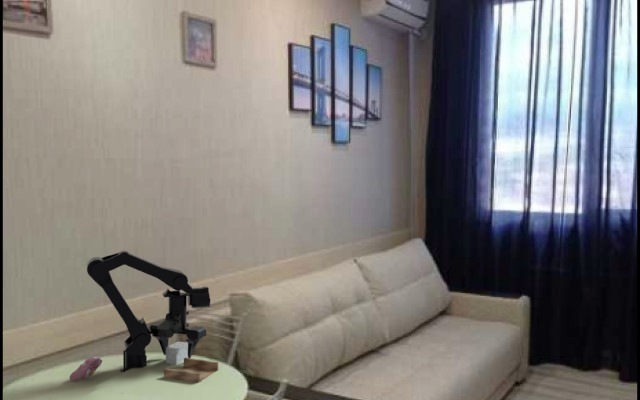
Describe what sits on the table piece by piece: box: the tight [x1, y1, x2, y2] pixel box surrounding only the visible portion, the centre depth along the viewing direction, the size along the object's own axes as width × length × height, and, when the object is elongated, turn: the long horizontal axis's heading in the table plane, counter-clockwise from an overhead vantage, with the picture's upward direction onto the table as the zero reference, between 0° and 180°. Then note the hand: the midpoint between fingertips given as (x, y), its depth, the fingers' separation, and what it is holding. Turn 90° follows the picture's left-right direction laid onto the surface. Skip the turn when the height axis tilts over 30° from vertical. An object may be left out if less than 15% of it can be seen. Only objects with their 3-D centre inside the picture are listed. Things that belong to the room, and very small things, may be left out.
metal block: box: [165, 341, 188, 365], centre depth 189 cm, size 4×7×6 cm, turn 161°
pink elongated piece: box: [69, 356, 103, 382], centre depth 177 cm, size 10×5×7 cm, turn 169°
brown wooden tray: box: [163, 357, 219, 383], centre depth 176 cm, size 12×12×4 cm
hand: (177, 356), depth 189 cm, fingers open, 9 cm apart
